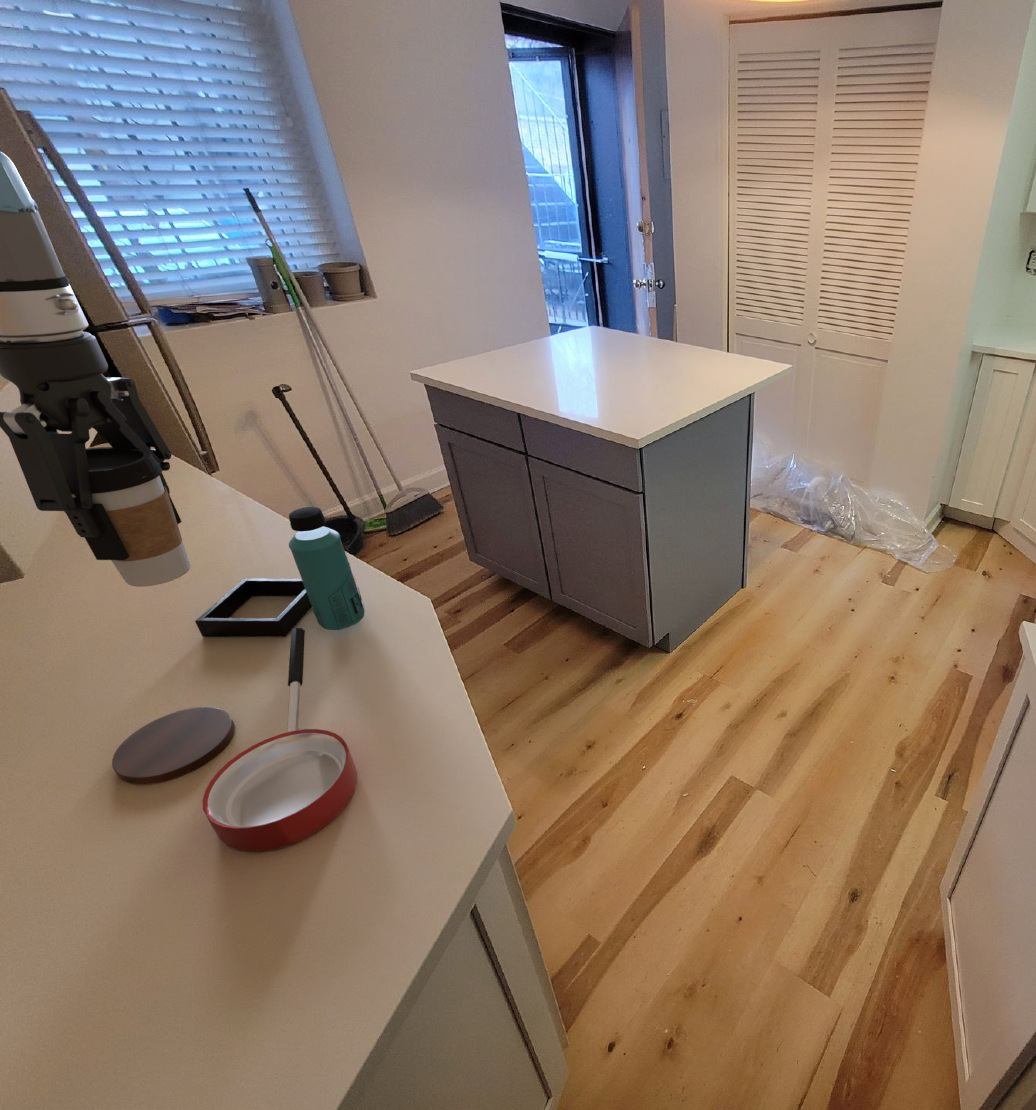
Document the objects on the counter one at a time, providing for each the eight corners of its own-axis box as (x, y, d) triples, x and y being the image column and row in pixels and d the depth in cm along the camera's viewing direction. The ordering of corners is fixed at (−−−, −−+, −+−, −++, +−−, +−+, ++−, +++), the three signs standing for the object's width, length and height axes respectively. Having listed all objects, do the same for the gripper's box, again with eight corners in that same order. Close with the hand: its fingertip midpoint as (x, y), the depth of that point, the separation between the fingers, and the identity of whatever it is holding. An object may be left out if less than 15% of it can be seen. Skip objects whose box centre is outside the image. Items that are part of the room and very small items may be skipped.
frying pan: (231, 683, 82) (214, 646, 79) (342, 653, 89) (330, 618, 86) (213, 877, 60) (187, 837, 57) (364, 819, 66) (348, 780, 63)
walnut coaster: (89, 785, 68) (84, 778, 67) (162, 713, 77) (158, 707, 77) (195, 783, 69) (191, 776, 68) (254, 712, 78) (251, 706, 78)
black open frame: (202, 637, 90) (194, 621, 89) (250, 593, 100) (244, 578, 99) (285, 637, 91) (278, 621, 90) (324, 593, 101) (319, 578, 100)
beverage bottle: (366, 634, 93) (328, 518, 83) (315, 642, 91) (271, 524, 80) (371, 610, 98) (336, 498, 88) (323, 617, 96) (282, 503, 86)
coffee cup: (132, 559, 74) (72, 443, 67) (215, 552, 77) (166, 440, 69) (95, 597, 68) (24, 473, 60) (187, 588, 70) (130, 467, 63)
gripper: (-21, 360, 50) (107, 589, 62) (158, 317, 68) (232, 502, 79) (-126, 356, 49) (24, 589, 61) (83, 314, 67) (168, 501, 78)
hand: (141, 539), depth 70 cm, fingers closed on coffee cup, 8 cm apart
